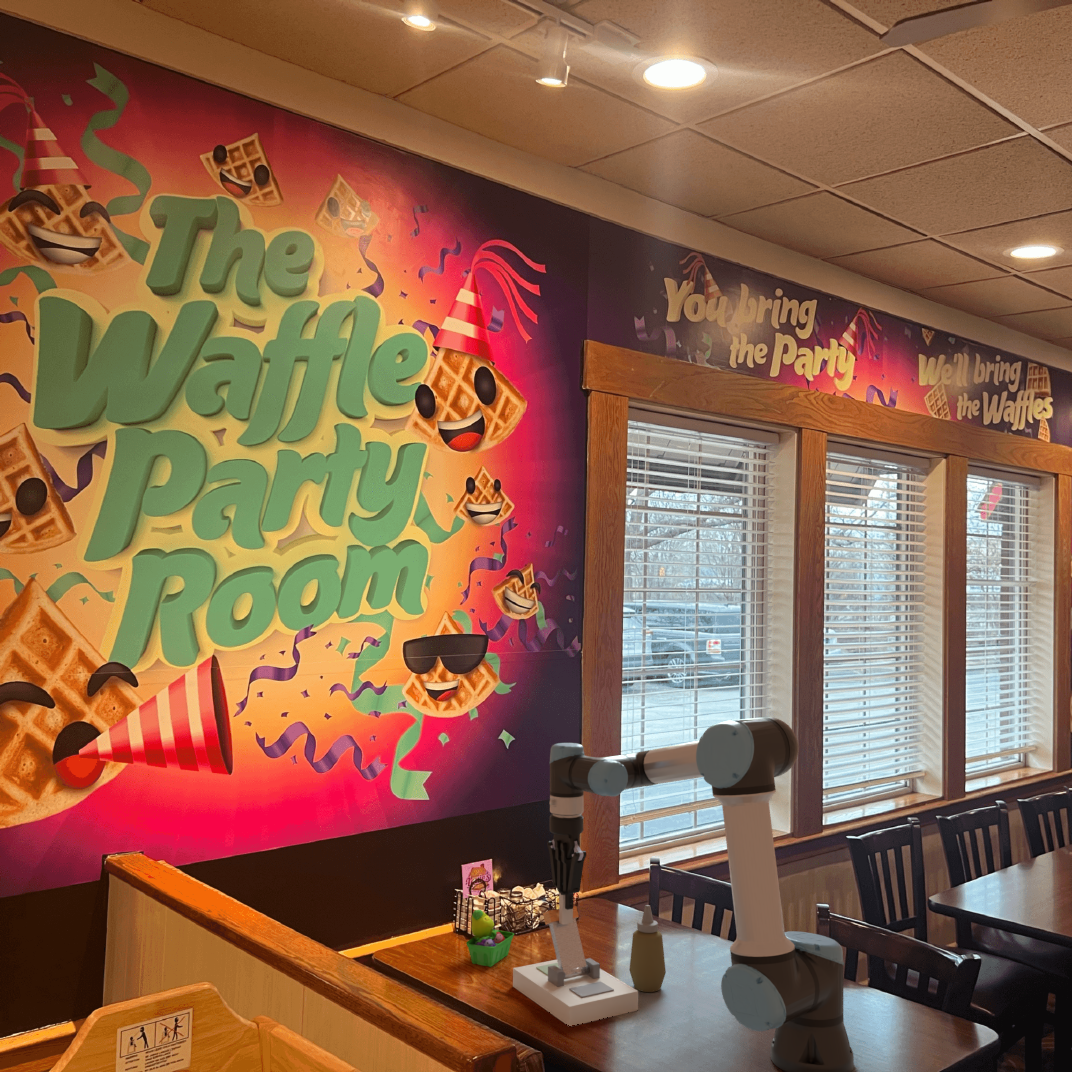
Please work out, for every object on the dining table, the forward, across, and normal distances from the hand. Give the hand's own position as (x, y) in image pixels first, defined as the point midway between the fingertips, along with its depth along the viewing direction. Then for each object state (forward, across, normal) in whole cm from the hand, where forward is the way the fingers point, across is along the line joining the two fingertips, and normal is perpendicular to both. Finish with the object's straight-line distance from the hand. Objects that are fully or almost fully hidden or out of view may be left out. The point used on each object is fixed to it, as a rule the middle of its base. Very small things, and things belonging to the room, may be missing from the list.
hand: (566, 922), depth 224 cm
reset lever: (+10, +3, 0) cm, 10 cm away
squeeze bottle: (+15, +6, +18) cm, 24 cm away
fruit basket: (+15, -27, -5) cm, 31 cm away
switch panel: (+15, +3, 0) cm, 15 cm away
